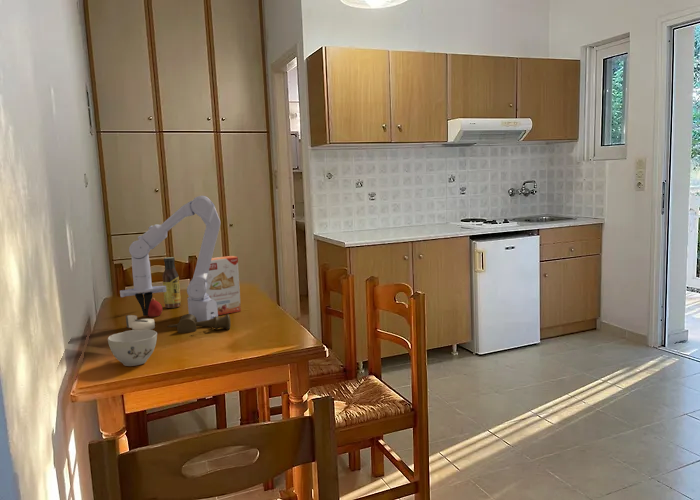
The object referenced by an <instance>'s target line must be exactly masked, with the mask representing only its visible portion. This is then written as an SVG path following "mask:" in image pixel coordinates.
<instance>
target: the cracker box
mask: <svg viewBox="0 0 700 500" xmlns="http://www.w3.org/2000/svg"><path fill="white" fill-rule="evenodd" d="M239 272H240V271H239V259H238V256H236V255H229V256H228V255H227V256H218V257H212V260H211V263H210V267H209V271H208V276H207V285H208V287H207V290H206V293H207V294H208V295H209V298H210V299H213V300H215V301H216V303H217V310H218V316H221V315H229V314H232V313H239V312H241V311H242V307H241V290H240V289H241V288H240V273H239Z"/></svg>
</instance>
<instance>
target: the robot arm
mask: <svg viewBox="0 0 700 500" xmlns="http://www.w3.org/2000/svg"><path fill="white" fill-rule="evenodd" d="M194 215H197V216H198V217H199V218H200V219H201V220H202V222H203V223H204V224H205V230H204V232H203V238H202V241H201V245H200V250H199V254H198V258H197V259H196V264H195V269H194V273H193V277H192V279H191V280H190V281H189V283H188V286H187V288H186V293H187V295H188V296H187V307H188V308H187V309H188V310H187V311H188V314H192V315H194V316H195V317H196V319H197V322H200V321H205V320H210V319H213V318H214V317H215V316H217V317H219V315H218V310H217V303H216V301H215V300H213V299H210V298H209V295H208V294H207V293H206V290H207V287H208V285H207V276H208V271H209V267H210V263H211V260H212V258H213V256H214V255H213V254H214V250H215V247H216V244H217V239H218V236H219V232H220V229H221V225H222V224H221V219H220V217H219V214H218V211H217V209H216V205H215V204H214V203H213V201H212V200H211V199H210V198H209V197H208V196H206V195H198V196H195V197H194V198H193V199H192V200H191V201H188V202H186V203H185V204H183V205H182V206H181V207H178V208H177V210H176V211H175V212H174V213H172V215H170V216H169V217H168V218H167V219H166V220H165V221H163V222H161V224H156V223H155V224H154V225H150V226H148V230H147V231H145V232H144V233H143V234H142V235H138V236H137V239H138V240H134V241H132V243H130V245H129V248H128V252H129V254H130V255H131V268H132V269H131V270H132V279H133V288H129V289H122V290H119V294H120V298H124V297H130V296H134V297H135V299H136V301H137V302H138V304H139V306H140V308H141V312H142V314H143V317H145V316H148V309H149V305H150V302H151V300H152V298H153V294H157V293H164V292H166V286H163V285H156V286H153V285H152V272H151V261H150V255H149V254H150V251H151V250H153V249H155V248H156V247H157V246H159V244H161V243H162V242H163V241H164V240H165V239H167V237H168V232H169V231H170V230H171V229H172V228H174V227H175V226H176V225H177V224H178V223H180V222H181V221H182V220H184V219H185V218H187V217H192V216H194Z"/></svg>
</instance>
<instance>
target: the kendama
mask: <svg viewBox="0 0 700 500" xmlns="http://www.w3.org/2000/svg"><path fill="white" fill-rule="evenodd" d="M197 327H201V328H202V327H203V328H213V329H214V330H218V329H226V330H228V331H229V330H230V329H231V316H230V315H229V314H225V316H221V317H219V316H218V317H217V316H215V317H214V318H213V319H210V320H205V321H200V322H197V319H196V317H195V316H194V315H192V314H189V313H186V314H184V315H182V316H181V317H180V320H179V322H178V323H175V324H168V325H167V328H177V329H176V330H177V333H178V334H186V333H193V334H191V335H190V337H192V336H194V332H197Z"/></svg>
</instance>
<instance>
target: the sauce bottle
mask: <svg viewBox="0 0 700 500" xmlns="http://www.w3.org/2000/svg"><path fill="white" fill-rule="evenodd" d="M163 262H164V271H163V272H162V273H163V274H162V286H166V292H163V301H164V302H163V303H164V307H165V308H166V309H176V308H179V307H181V299H182V298H181V289H180V286H181V285H180V277H179V274H178V271H177V270H176V266H175V257H174V256H171V257H164V258H163Z"/></svg>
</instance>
